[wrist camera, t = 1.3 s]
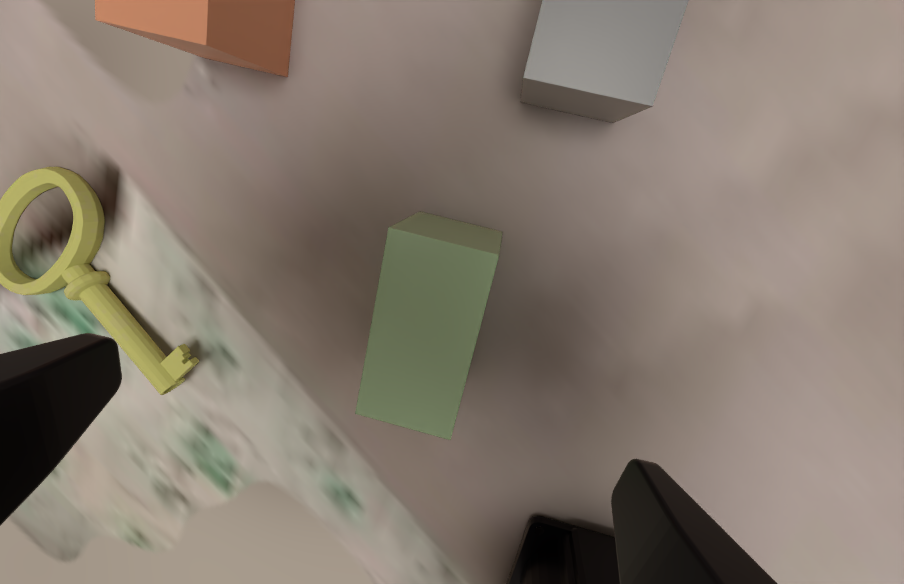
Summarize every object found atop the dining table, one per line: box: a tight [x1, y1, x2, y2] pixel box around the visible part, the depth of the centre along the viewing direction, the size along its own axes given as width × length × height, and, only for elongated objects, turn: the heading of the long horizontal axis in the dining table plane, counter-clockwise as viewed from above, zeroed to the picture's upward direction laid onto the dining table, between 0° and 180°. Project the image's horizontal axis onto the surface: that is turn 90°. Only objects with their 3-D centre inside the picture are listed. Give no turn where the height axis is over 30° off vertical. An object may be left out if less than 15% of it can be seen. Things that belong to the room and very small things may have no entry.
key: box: [0, 167, 199, 395], centre depth 21 cm, size 7×12×2 cm, turn 58°
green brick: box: [355, 212, 502, 440], centre depth 17 cm, size 7×4×5 cm, turn 167°
